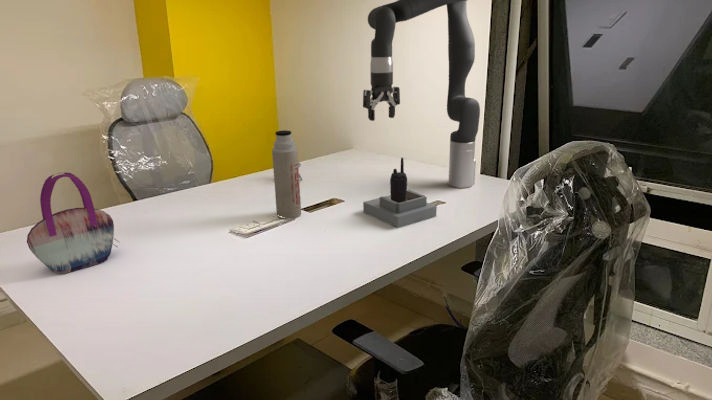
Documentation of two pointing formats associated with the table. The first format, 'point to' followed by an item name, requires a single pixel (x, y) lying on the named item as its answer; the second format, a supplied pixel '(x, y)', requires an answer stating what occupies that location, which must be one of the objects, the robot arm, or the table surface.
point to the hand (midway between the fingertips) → (381, 119)
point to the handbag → (71, 232)
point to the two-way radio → (398, 185)
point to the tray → (401, 209)
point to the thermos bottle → (286, 175)
